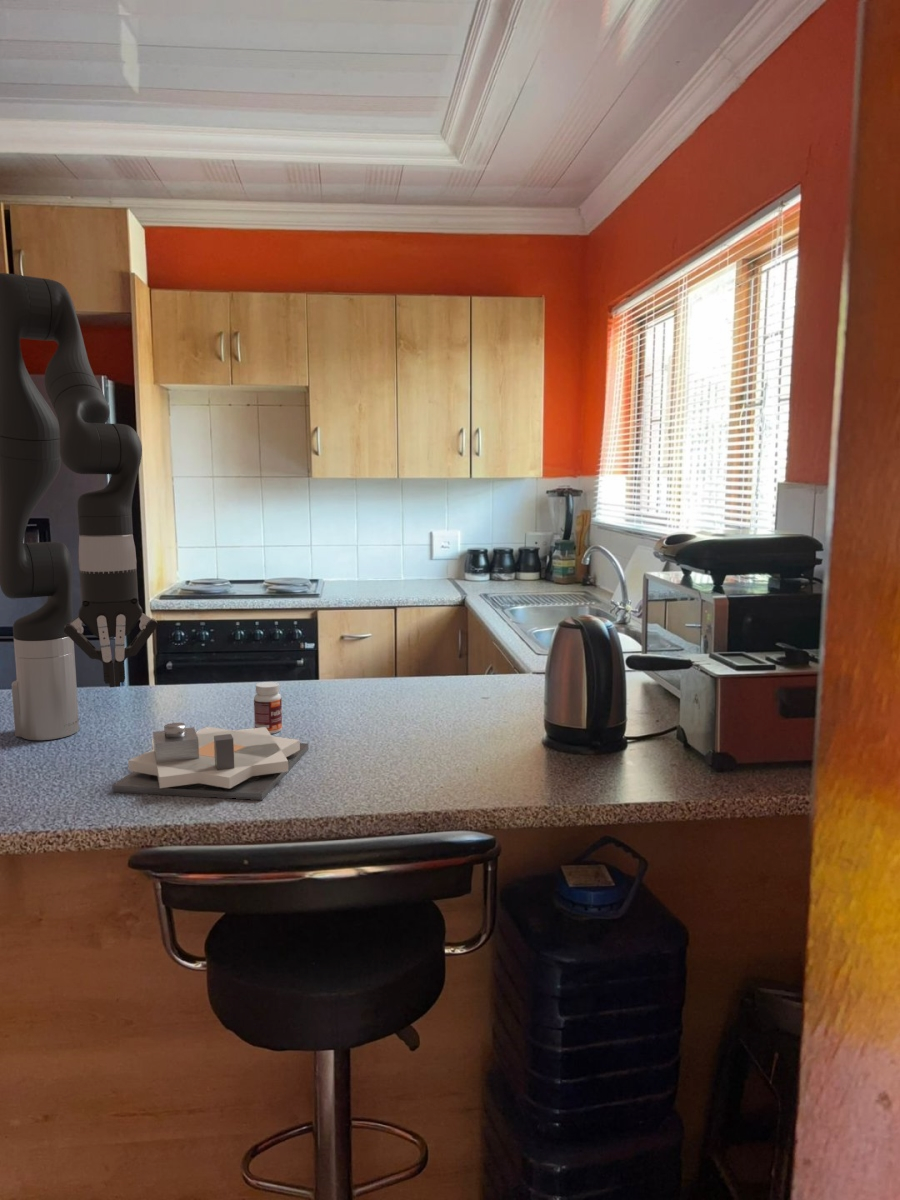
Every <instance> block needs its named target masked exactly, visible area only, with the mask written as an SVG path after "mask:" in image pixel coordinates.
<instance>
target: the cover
mask: <svg viewBox="0 0 900 1200" xmlns="http://www.w3.org/2000/svg"><path fill="white" fill-rule="evenodd" d="M163 729H164V730H159V731H153V732H152V739H153V743H154V754H155V759H156V764H157V763H165V762H173V761H181V760H189V759H197V758H199V744H198V737H197V734H196V729H195V727H186V724H185V722H184V723H183V722H171V723H167V724H164V726H163Z"/></svg>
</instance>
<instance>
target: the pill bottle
mask: <svg viewBox="0 0 900 1200" xmlns="http://www.w3.org/2000/svg"><path fill="white" fill-rule="evenodd" d="M279 692H280V683H278V682H276V681H265V682H264V681H262V682H258V683H256V684H255V693H256V694H255V695H254V697H253V710H254V711H253V713H254V717H253V718H254V728H261V727H266V728H267V730H268V731H269V733H270V734H271V735H272V734H277V733H280V732H281V731H282V730H283V720H282V719H283V716H282V715H283V714H282V713H283V711H282V705H283V704H282V701H283V700H282V695H281V694H280V693H279Z"/></svg>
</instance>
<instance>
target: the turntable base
mask: <svg viewBox="0 0 900 1200" xmlns="http://www.w3.org/2000/svg"><path fill="white" fill-rule="evenodd" d="M307 752H309V743H302V742H300V750H299V751H297V752H295V753H293V754H291V755H290V756H288V757H286V758H287V760H288V772H280V773H272V774H265V775H257V776H252V777H250V778H248V779H246V780H244V781H243V782H241V783H239V784H237V785H235V786H233V787H232V788H230V789H229V788H224V787H218V786H212V785H207V784H201V783H196V784H189V785H181V786H173V787H166V788H160V787H159V782H158V777H157V776H156V775H151V774H145V773H139V772H134V771H130V773H128V774H127V775H126V776H124V777H123V778H121V779H120V780H118V781H117V782H116V783H114V784H112V791H113V793H121V794H122V793H125V794H137V795H138V794H139V795H143V794H144V795H156V794H157V795H158V796H173V795H174V796H175V795H176V797H177V796H178V797H190V796H191V797H192V798H208V797H217V798H216V799H225V798H236V799H235V800H243V799H253V800H252V801H261V800H262V801H264V799H265V798H266V797H267V796H268V795H269V794H270V792H272V791H273V789H275V787H276V786H277V785H278V784H279V783H280V782H281V781H282V779H283V778H284V777H285V776H286V775H287V774H288V773H289V772H290V770H291V769H293V767H294V766H295V765H296V764H297V763H298V761H300V759H301V758H302V757H303V756H304V755H305V754H306V753H307ZM278 782H279V783H278ZM277 783H278V784H277ZM276 784H277V785H276ZM275 785H276V786H275ZM268 793H269V794H268ZM267 794H268V795H267ZM157 795H156V796H157ZM266 795H267V796H266ZM265 796H266V797H265ZM264 797H265V798H264Z"/></svg>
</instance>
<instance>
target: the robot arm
mask: <svg viewBox="0 0 900 1200" xmlns="http://www.w3.org/2000/svg"><path fill="white" fill-rule="evenodd" d="M81 329H82V328H81V326H80V322H79V319H78V316H77V311H76V308H75V305H74V302H73V300H72V297H71V294H70V293H69V291H68V289H67V288H66V287H65V285H64V284H62V283H61V282H60V281H57V280H53V279H49V278H43V277H38V276H37V277H35V276H29V275H21V274H15V273H7V272H0V590H1V592H2V593H3V595H4V596H5V597H6V598H9V599H27V598H29V599H30V598H32V599H33V598H41V597H47V599H46V602H45V603H44V604H43V605H42V606H41V607H39V609H37V610H35V611H33V612H31V613H29V614H27V615H25V616H21V617H20V618H18V619H17V620H15V621H14V622H13V625H12V635H13V646H14V659H15V673H16V676H15V677H16V680H14V681H12V682H11V694H12V695H11V696H12V709H13V710H12V711H13V722H14V735H15V737H20V738H23V739H25V740H29V741H49V740H50V741H51V740H55V739H61V738H65V737H68V736H72V735H74V734H76V733H78V731H79V730H80V723H79V722H80V721H79V720H80V718H79V706H78V705H79V704H78V689H77V688H78V687H77V672H76V657H75V656H76V655H75V645H77V647H79V649H80V650H81V651H83V652H84V654H86V655H87V657H89V659H91V660H98V661H100V662H102V670H103V672H102V673H103V681H104V683H105V684H106V685H107V684H109V688H117V687H119V688H120V687H121V683H125V680H126V673H125V672H126V671H125V670H126V669H125V660H126V659H128V658H130V657H135V656H136V655H138V653H139V651H140V650H141V649H142V648H143V647H144V645H145V644H146V642H147V641H148V640H149V638H150V637H151V636H152V635H153V633H154V632H155V630H156V629H157V628H158V625H159V624H158V621H157V620H156V618H151V617H149V615H146V614H145V613H143V607H142V606H141V604H140V602H139V591H138V590H139V589H138V586H139V585H138V572H137V571H138V570H137V562H138V561H137V554H136V553H137V552H136V545H135V541H134V535H133V534H134V530H133V512H132V511H133V510H132V507H133V498H134V492H135V488H136V482H137V477H138V474H139V469H140V466H141V461H142V457H143V456H142V455H143V444H142V442H141V439H140V436H139V435H138V433H137V432H136V430H135V429H134V428H133V427H131V426H130V425H129V424H123V423H107V422H108V421H109V418H110V406H109V403H108V401H107V399H106V396H105V394H104V392H103V391H102V389H101V386H100V384H99V382H98V380H97V378H96V377H95V374H94V372H93V369H92V367H91V364H90V361H89V358H88V353H87V350H86V345H85V343H84V342H85V340H84V337H83V334H82V330H81ZM21 339H22V340H23V339H24V340H33V341H34V340H35V341H44V342H49V341H50V342H51V341H54V342H55V343H56V344H57V348H56V350H55V352H54V354H53V355H52V357H51V358H50V360H49V362H48V364H47V366H46V369H45V372H44V386H45V391H46V394H47V396H48V398H49V401H50V404H51V405H52V407H53V409H54V412H55V413H54V412H53V410H52V408H51V407H50V405H49V404H48V402H47V401H46V399H45V398H44V396H43V395H42V393H41V392H40V391H39V389H38V387H37V386H36V384H35V383H34V381H33V379H32V377H31V375H30V374H29V372H28V369H27V368H26V364H25V360H24V357H23V353H22V350H21V349H22V347H21ZM55 414H56V415H55ZM62 463H63V465H65V467H66V468H68V470H70V471H71V472H73V473H76V474H79V475H110V478H109V481H108V483H107V485H106V486H105V487H104V488H102V489H99V490H94V491H90V492H86V493H83V494H81V495H80V496H79V497H78V500H77V506H76V507H77V520H78V532H79V533H78V534H79V537H78V538H79V539H78V552H77V553H78V568H79V569H78V570H79V584H80V598H81V599H80V600H81V603H80V604H81V606H80V608H79V609H78V616H77V617H76V618H74V613H73V564H72V558H71V553H70V550H69V549H68V547H67V545H66V544H65V543H63V542H61V541H41V542H38V541H37V542H24V541H25V534H26V530H27V526H28V523H29V521H30V518H31V517H32V514H33V512H34V510H35V508H36V507H37V506H38V504H39V503H40V501H41V499H43V497H44V496H45V494H46V493H47V491H48V490H49V489H50V488H51V485H52V484H53V482H54V481H55V480H56V478H57V476H58V474H59V472H60V469H61V465H62ZM139 621H140V622H139ZM138 622H139V629H140V631H139V632H138V633H137V635H136V636H135V637H134V639H133V640H132V642H130V644H129V645H128V646H127V647H125V646H126V645H125V644H126V636H128V635H129V634H130V633H131V632H132V631H133V629H134V628H135V626H136V625H137V624H138ZM82 624H83V625H85V626H86V628H87V629H88V630H89V631H90V632H91V634H93V635H94V637H96V638H99V644H100V649H99V648H96V646H94V644H92V642H91V641H90V640H89V639H88V638H87V637H86V636H85V635H84V627H83V626H82ZM110 638H115V639H114V640H115V641H114V643H115V645H114V658H113V659H112V657H113V656H112V650H111V643H110V642H111V641H110Z"/></svg>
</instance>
